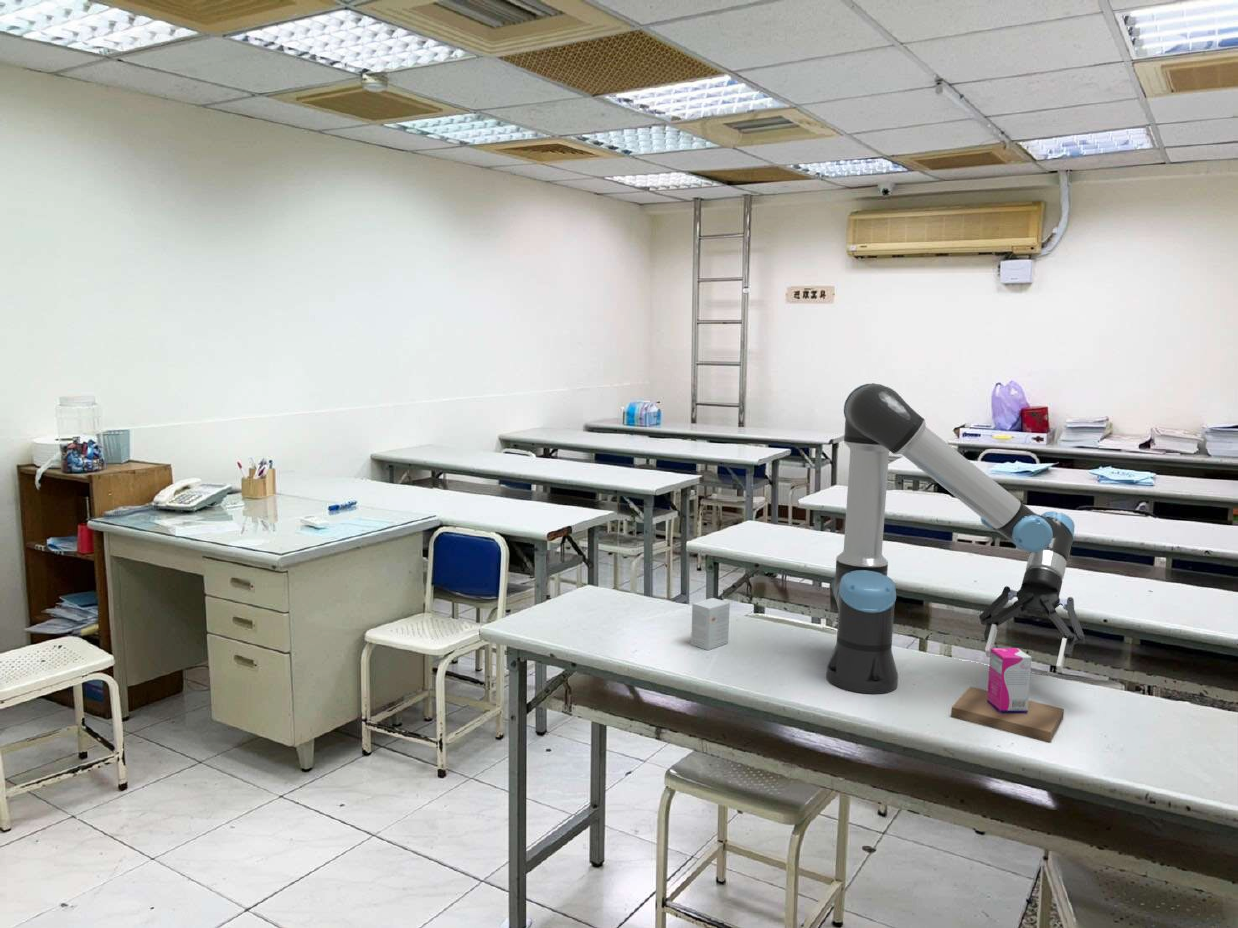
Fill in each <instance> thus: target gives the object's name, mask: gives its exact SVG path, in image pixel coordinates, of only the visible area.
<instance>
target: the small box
mask: <svg viewBox="0 0 1238 928" xmlns="http://www.w3.org/2000/svg"><path fill="white" fill-rule="evenodd" d="M730 604H731V603H730V602H728V601H725V600H722V599H718V598H715V597H710V598H707V599H703V600H700V601H696V602H694V603H692V604H691V605H692V606H691V633H690V635H691V637H690V638H691V639H690V641H691V642H690V645H691V646H694V647H697V648H700V649H703V650H706V651H709V650H712V649H716V648H718V647H721V646H724V645H727V644H728V643H729V630H730V629H729V628H730V625H729V624H730V609H731V608H730Z"/></svg>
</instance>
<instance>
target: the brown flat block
mask: <svg viewBox="0 0 1238 928" xmlns="http://www.w3.org/2000/svg"><path fill="white" fill-rule="evenodd" d="M987 696H988V689H987V690H986V689H984V688H983V689H982V688H979V687H974V686H969V687H968V688H967V689H966V691H964V693H963V694H962V695H960V697H959V698H958V699H957V701H956V702H955V703H954V704H953V705H951V709H950V710H951V713H950V718H954V719H958V718H959V720H961V721H965V722H970V723H973V724H978V725H981V726H985V727H989V728H993V729H997V730H1000V731H1004V732H1008V733H1013V734H1016V735H1019V736H1024V737H1028V738H1030V739H1036V740H1039V741H1043V742H1047V743H1051V742H1052V740H1053V738H1054V736H1055V735H1056V733H1057V731H1058V729H1059V727H1060V726H1061V724H1062V721H1063V720H1064V715H1065V708H1063V707H1059V706H1054V705H1050V704H1046V703H1042V702H1037V701H1032V700H1029V701H1028V713H999V712H998V711H997V710H996V709H995V708H994V707H993V706H992V705H991V704H989V703H988V702H987Z"/></svg>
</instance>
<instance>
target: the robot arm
mask: <svg viewBox="0 0 1238 928" xmlns="http://www.w3.org/2000/svg"><path fill="white" fill-rule="evenodd" d="M843 414H844V419H845V422H844V435H843V438H844V439H843V443H844V444H845V445H846V446H847V447H848V449H849V463H848V478H847V494H846V495H847V496H846V507H845V509H846V510H845V524H844V539H843V551H841V553H839V554H838V555H837V556H836V559H835V572H834V573H835V574H834V576H833V580H832V583H831V584H832V585H831V586H832V587H831V588H832V594H833V597H834V599H835V602H836V606H837V609H838V612H837V613H838V614H837V615H838V616H837V632H836V643H835V646H834V649H833V651H832V653H831V656H830V658H829V661H828V663H827V665H826V673H825V674H826V679H827V680H828V682H829V683H831V684H832V685H834V686H836V687H838V688H841V689H843V690H846V691H847V690H848V691H850V692H854V693H855V692H856V693H862V694H884V693H890V692H893V691H894V690H896V689H897V688H898V683H899V682H898V681H899V673H898V670H897V665H896V662H895V659H894V654H893V650H892V648H893V647H892V646H893V633H894V619H895V618H894V617H895V607H896V606H895V604H896V603H895V602H896V601H897V600H896V599H897V592H896V584H895V582H894V581H893V579H892V578H891V577H889V576H888V566H889V561H888V560H887V559H886V558H885V556H883V543H884V541H883V539H884V530H885V528H884V527H885V515H886V501H887V487H888V476H889V475H888V472H889V471H888V469H889V460H890V459H889V458H890V453H892V454H893V455H902V456H904V457H905V458H906V460H909V461H910V463H912V464H913V465H915V466H916V467H917V468H919V470H921V471H922V472H923V473H924V474H926V475H927V476H928V477H929V478H931V480H934V481H935V482H936V483H937V484H939V485H940V486H941V487H942V488H944V490H947V491H948V493H950V494H951V495H953V496H954V497H955V498H956V499H957V500H958V501H960V502H961V503H963V504H964V505H965V506H966V507H968V509H970V510H971V511H973V512H974V513H976V515H978V516H979V517H980V522H981V524H982V525H984V526H985V527H987V528H988V529H990V530H991V531H995V532H997V533H998V534H1001V535H1002V536H1003V537H1005V538H1006V539H1007V540H1009V541H1010V542H1011V543H1012V544H1014V546H1015V547H1017V548H1018V549H1019V550H1022V551H1025V552H1027V553H1029V556H1028V559H1027V563H1026V566H1025V572H1024V575H1023V578H1022V581H1021V587H1020V588H1019V590H1013V589H1011V587H1010V586H1007V585H1006V586H1004V587H1003V590H1002V591H1001V593H1000V595H999V596H998V597H997V598H996V599H995V600H994V601H993V602H992V603H991V604H990V605H989V606H988V607H987V608H986V609H985V610H983V611H982V613H980V614H979V621H980V624H981V625H984V626H985V630H984V633H983V637H984V641H986V645H985V648H984V653H985V656H986V657H987V658H990V651H991V648H994V645H995V642H996V641H995V640H996V638H997V634H998V627H999V626H1001V625H1002V624H1004V623H1005V622H1008V621H1009V620H1010V619H1012V618H1014V617H1016V616H1017V615H1021V614H1023V613H1024V612H1026V613H1027V614H1030V615H1038V616H1040V617H1043V616H1046V615H1047V617H1048V618H1049V620H1050V621H1052V622H1053V624H1054V625H1055V627H1056V628H1057V629H1058V631H1059V632H1060V634H1061V635H1062V639H1061V644H1060V648H1059V652H1058V656H1057V662H1056V665H1055V666H1056V671H1057V673H1060V674H1061V673H1062V672H1063V668H1064V662H1065V659H1066V658H1070V659H1071V657H1072V655H1073V649H1074V646H1075V645H1077V644H1079V645H1084V644H1085V642H1086V639H1085V634H1084V631H1083V629H1082V628H1083V627H1082V626H1081V623H1080V621H1079V618H1078V615H1077V613H1076V611H1075V600H1074V598H1073V597H1071V596H1069V597H1067V598H1060V594H1061V590H1062V586H1063V579H1064V578H1065V573H1066V568H1067V563H1068V559H1069V555H1070V551H1071V548H1072V547H1071V546H1072V544H1073V541H1074V535H1075V526H1076V525H1075V522H1074V520H1073V518H1072V517H1071V516H1069V515H1067V514H1065V513H1063V512H1057V511H1045V512H1043V513H1042V514H1038V513H1036V512H1034V511H1033V510H1032V509H1031V508H1029V507H1028V506H1026V505H1025V504H1023V503H1022V502H1021V500H1019V499H1017V497H1015V496H1014V495H1013V494H1011V493H1010V492H1009V491H1008V490H1006V489H1005V488H1004V487H1003V486H1002V485H1000V484H999V483H997V481H995V480H994V479H992V477H990V476H989V475H988V474H986V473H985V472H984V471H983V470H981V469H980V468H979V467H977V466H976V465H975V464H974V463H972V462H971V461H970V460H969V459H968V458H966V457H965V456H964V455H962V454H961V453H960V452H958V451H957V450H956V449H954V448H953V447H952V446H951V445H950V444H948V443H947V442H946V441H945V440H943V439H942V438H941V437H939V435H937V434H936V433H934V431H932V430H931V429H930V428H928V426H926V419H925V418H923V417H922V416H921V415H920V414H919V413H917V412H916V411H915V409H913V408H912V407H911V406H910V405H909V404H908V403H907V402H906V401H905V400H904V399H903V398H902V396H901V395H899V393H898V392H897V391H896V390H894V389H892V388H891V387H889V386H885V385H883V384H880V383H879V384H878V383H874V382H873V383H866V384H862V385H859V386H858V387H856V388H854V389H853V390H852V391H851V392H850V393H849V394H848V396H847V398H846V399H845V402H844V405H843ZM1014 598H1016V599H1017V600H1015V601H1014V602H1013V603H1012V604H1011V605H1009V606H1008V607H1006V608H1004V607H1005V606H1006V605H1007V604H1008V603H1009V601H1012V600H1013V599H1014ZM1059 606H1062V608H1063V609H1064V610H1065V611H1067V615H1068V619H1069V621H1070V623H1071V624H1070V625H1071V626H1072V629H1073V632H1074V633H1073V632H1071V630H1070V628H1069V627H1068V626H1067V624H1066V623H1065V622H1064V620H1063V619H1062V618H1061V616H1060V615H1059V614H1058V612H1057V610H1056V609H1057V608H1059ZM1003 608H1004V609H1003ZM1002 609H1003V610H1002Z"/></svg>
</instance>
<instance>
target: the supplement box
mask: <svg viewBox="0 0 1238 928" xmlns="http://www.w3.org/2000/svg"><path fill="white" fill-rule="evenodd" d="M988 668H989V670H988V682H987V691H988V696H987V702H988V703H989V704H991V705H992V706H993V707H994V708H995V709H996V710H997V711H998V712H999V713H1028V701H1030V700H1029V698H1030V687H1031V685H1030V684H1031V682H1030V681H1031V670H1032V656H1031V655H1030V654H1029V655H1028V654H1027V653H1026V652H1024V651H1022V650H1021V649H1020V648H1018V647H1013V648H1011V647H1010V648H1009V647H1006V648H1005V647H1004V648H1003V647H999V648H998V647H995V648H994V647H993V648H991V651H990V657H989V667H988Z"/></svg>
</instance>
